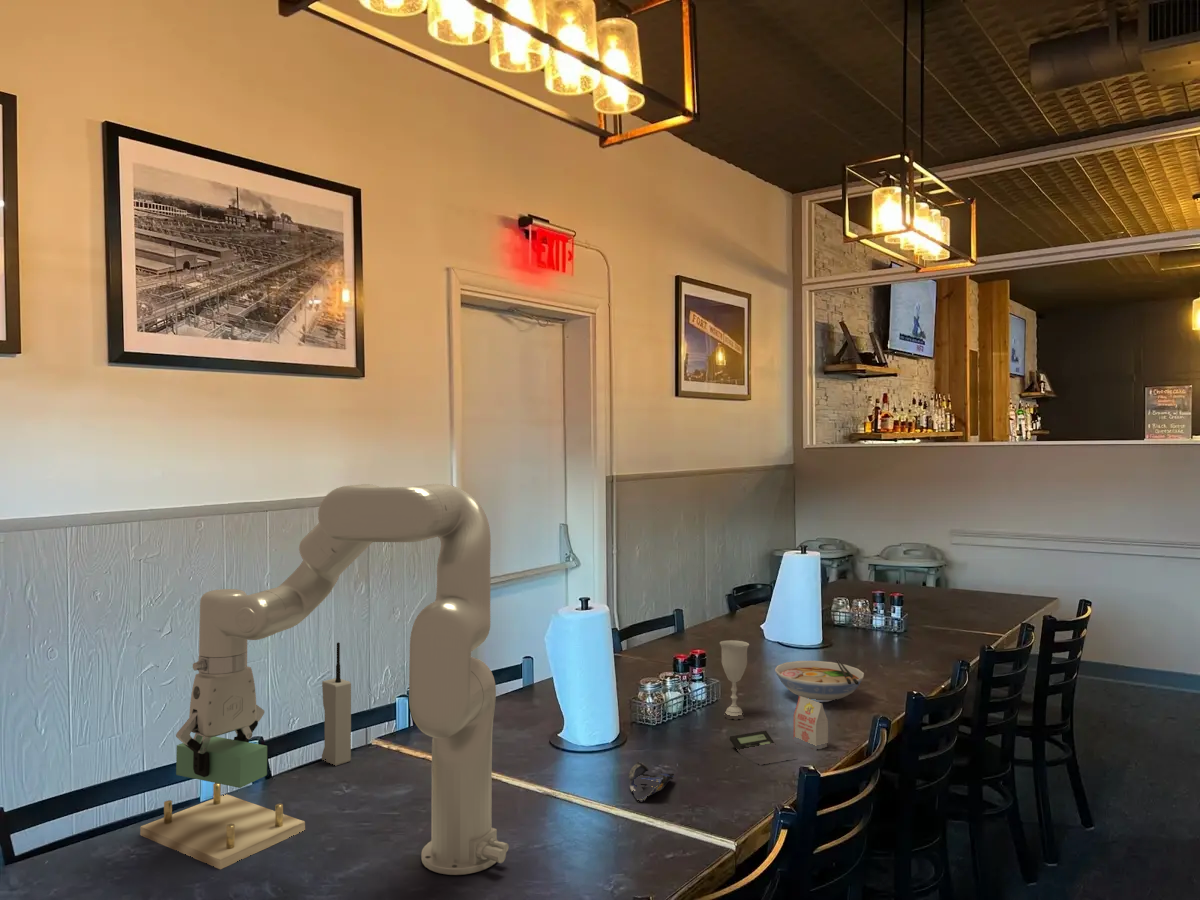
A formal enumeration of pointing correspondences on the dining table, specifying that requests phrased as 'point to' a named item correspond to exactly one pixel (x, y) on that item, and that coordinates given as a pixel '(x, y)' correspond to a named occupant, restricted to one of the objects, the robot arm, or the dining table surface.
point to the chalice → (734, 668)
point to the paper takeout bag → (810, 722)
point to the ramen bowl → (819, 679)
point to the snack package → (640, 770)
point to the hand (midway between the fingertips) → (221, 767)
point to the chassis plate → (222, 829)
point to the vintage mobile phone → (337, 718)
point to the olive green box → (226, 762)
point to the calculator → (751, 739)
